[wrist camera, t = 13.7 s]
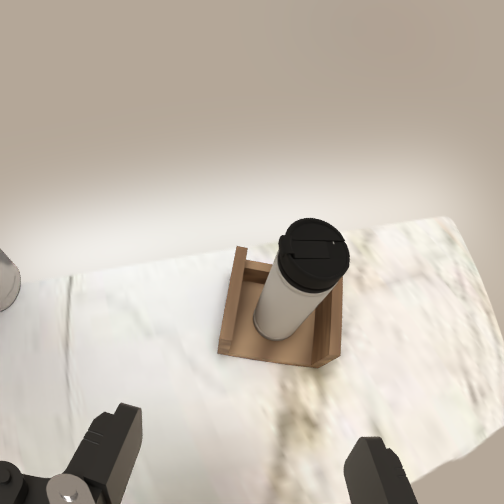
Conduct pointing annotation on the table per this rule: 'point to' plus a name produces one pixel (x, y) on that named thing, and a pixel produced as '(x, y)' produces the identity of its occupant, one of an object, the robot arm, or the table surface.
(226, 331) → the cradle
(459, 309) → the table surface
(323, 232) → the travel mug
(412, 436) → the table surface
